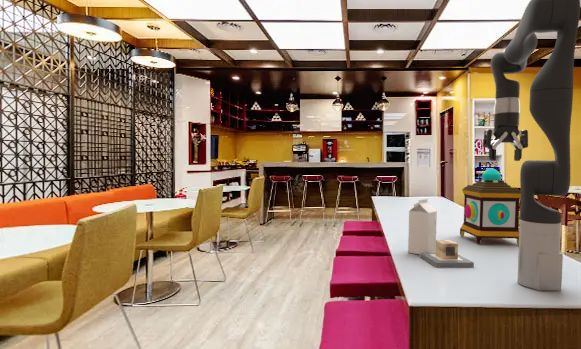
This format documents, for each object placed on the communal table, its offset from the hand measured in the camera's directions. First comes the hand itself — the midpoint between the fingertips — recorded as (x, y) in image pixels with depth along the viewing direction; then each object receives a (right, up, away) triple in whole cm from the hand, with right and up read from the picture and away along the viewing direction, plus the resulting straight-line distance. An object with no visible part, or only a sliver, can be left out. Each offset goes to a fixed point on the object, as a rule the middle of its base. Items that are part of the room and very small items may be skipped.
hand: (504, 160), depth 129 cm
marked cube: (-22, -32, -5) cm, 39 cm away
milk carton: (-26, -33, +7) cm, 42 cm away
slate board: (-22, -33, -5) cm, 40 cm away
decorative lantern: (+10, -32, +29) cm, 45 cm away
